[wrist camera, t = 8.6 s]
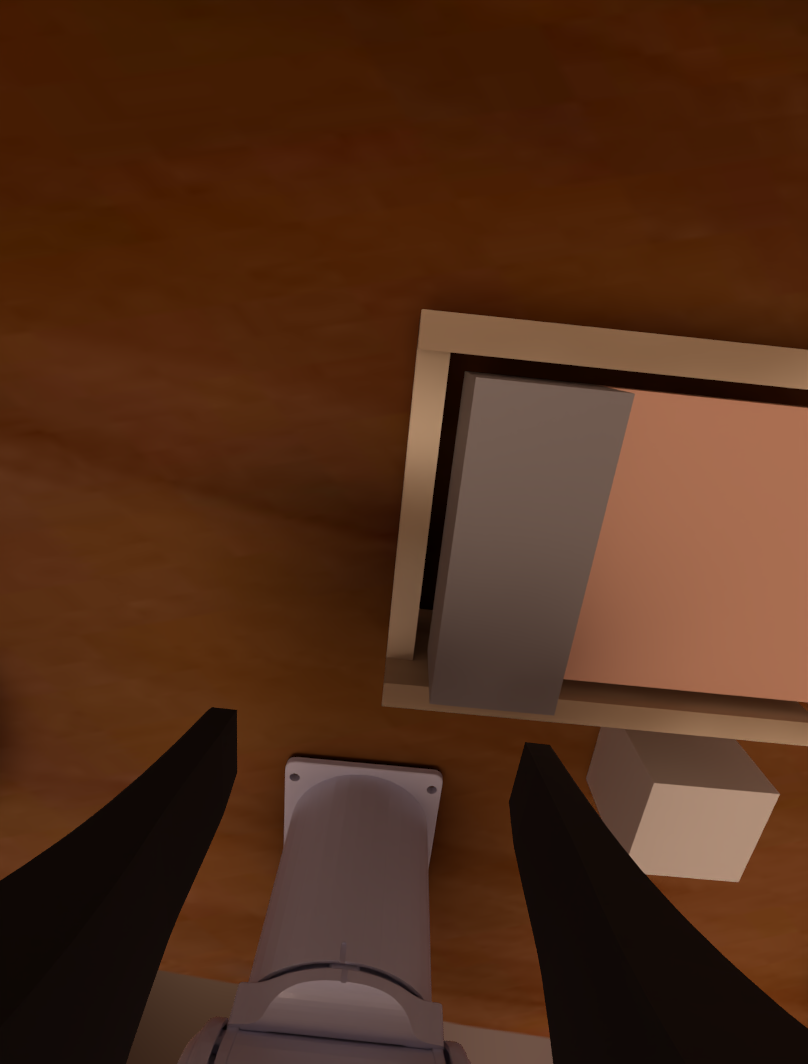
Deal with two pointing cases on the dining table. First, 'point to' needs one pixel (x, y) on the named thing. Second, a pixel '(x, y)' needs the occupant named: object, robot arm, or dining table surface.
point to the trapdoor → (620, 545)
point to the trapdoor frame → (407, 621)
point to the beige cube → (680, 801)
